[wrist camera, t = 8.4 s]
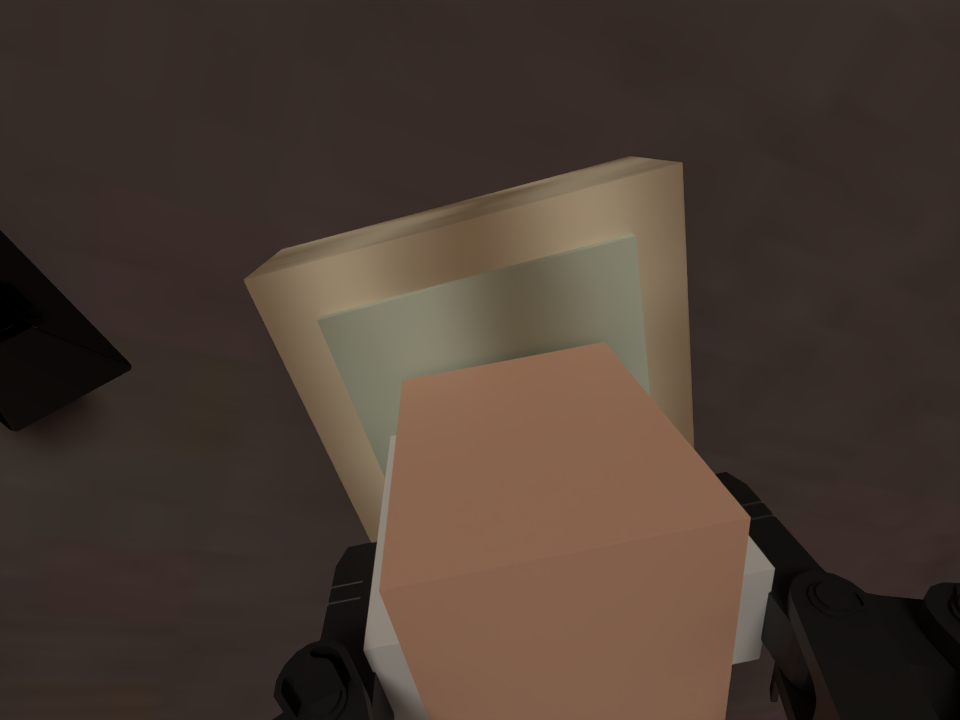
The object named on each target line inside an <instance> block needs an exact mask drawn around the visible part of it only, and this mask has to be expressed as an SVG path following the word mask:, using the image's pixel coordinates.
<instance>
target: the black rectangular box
mask: <svg viewBox="0 0 960 720" xmlns="http://www.w3.org/2000/svg"><path fill="white" fill-rule="evenodd" d="M129 370H131V364H130V363H129V362H128V361H127V360H126V359H125V358H124V357H123V356H122V355H121V354H120V353H119V352H118V351H117V350H116V349H115V348H114V347H113V346H112V344H111V343H110V342H109V341H108V340H107V339H106V338H105V337H104V336H103V335H102V334H101V333H100V332H99V331H98V330H97V329H96V328H95V327H94V326H93V325H92V324H91V323H90V322H89V321H88V320H87V319H86V318H85V317H84V316H83V315H82V314H81V313H80V312H79V311H78V310H77V309H76V307H75V306H74V305H73V304H72V303H71V302H70V301H69V300H68V299H67V298H66V297H65V296H64V295H63V294H62V293H61V292H60V291H59V290H58V289H57V288H56V287H55V286H54V285H53V284H52V283H51V282H50V281H49V280H48V279H47V278H46V277H45V276H44V275H43V274H42V273H41V272H40V271H39V269H38V268H37V267H36V266H35V265H34V264H33V263H32V262H31V261H30V260H29V259H28V258H27V257H26V256H25V255H24V254H23V253H22V252H21V251H20V250H19V249H18V248H17V247H16V246H15V245H14V244H13V243H12V242H11V241H10V240H9V239H8V238H7V237H6V236H5V235H4V234H3V233H2V231H1V230H0V422H2V423H3V424H4V425H5V426H6V427H7V428H9V429H10V430H12V431H19V430H21V429H23V428H24V427H26V426H28V425H30V424H32V423H34V422H36V421H37V420H39V419H41V418H43V417H45V416H47V415H48V414H50V413H52V412H54V411H56V410H58V409H59V408H61V407H63V406H65V405H67V404H69V403H70V402H72V401H74V400H76V399H78V398H80V397H81V396H83V395H85V394H87V393H89V392H91V391H93V390H94V389H96V388H98V387H100V386H102V385H104V384H105V383H107V382H109V381H111V380H113V379H115V378H116V377H118V376H120V375H122V374H124V373H126V372H127V371H129Z"/></svg>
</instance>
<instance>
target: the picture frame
mask: <svg viewBox="0 0 960 720" xmlns="http://www.w3.org/2000/svg"><path fill="white" fill-rule="evenodd" d="M244 282H245V284H246V286H247V288H248V290H249V292H250V295H251V297H252V299H253V301H254V303H255V305H256V307H257V309H258V311H259V313H260V315H261V317H262V319H263V321H264V323H265V325H266V327H267V329H268V331H269V334H270V336H271V338H272V340H273V342H274V344H275V346H276V348H277V350H278V352H279V354H280V356H281V358H282V360H283V362H284V364H285V366H286V368H287V370H288V372H289V375H290V377H291V379H292V381H293V383H294V385H295V387H296V389H297V391H298V393H299V395H300V397H301V399H302V401H303V403H304V405H305V407H306V409H307V411H308V414H309V416H310V418H311V420H312V422H313V424H314V426H315V428H316V430H317V432H318V434H319V436H320V438H321V440H322V442H323V444H324V446H325V448H326V450H327V453H328V455H329V457H330V459H331V461H332V463H333V465H334V467H335V469H336V471H337V473H338V475H339V477H340V479H341V481H342V483H343V485H344V487H345V489H346V491H347V494H348V496H349V498H350V500H351V502H352V504H353V506H354V508H355V510H356V512H357V514H358V516H359V518H360V520H361V522H362V524H363V526H364V528H365V530H366V533H367V535H368V537H369V539H370V541H371V543H372V542H377V539H378V531H379V523H380V515H381V508H382V500H383V492H384V484H385V476H386V468H387V461H388V453H389V445H390V437H391V436H395V435H396V433H397V424H398V415H399V406H400V397H401V388H402V380H408V379H413V378H418V377H423V376H428V375H434V374H439V373H444V372H449V371H455V370H460V369H465V368H470V367H476V366H481V365H486V364H491V363H496V362H502V361H507V360H512V359H517V358H523V357H528V356H533V355H538V354H544V353H549V352H554V351H559V350H564V349H570V348H575V347H580V346H585V345H591V344H596V343H601V342H605V343H606V344H607V346H608V347H609V348H610V349H611V350H612V352H613V353H614V354H615V355H616V356H617V358H618V359H619V360H620V361H621V362H622V364H623V365H624V366H625V367H626V368H627V370H628V371H629V372H630V373H631V374H632V376H633V377H634V378H635V379H636V380H637V382H638V383H639V384H640V385H641V386H642V388H643V389H644V390H645V391H646V392H647V394H648V395H649V396H650V397H651V398H652V400H653V401H654V402H655V403H656V404H657V406H658V407H659V408H660V409H661V410H662V412H663V413H664V414H665V415H666V416H667V418H668V419H669V420H670V421H671V422H672V424H673V425H674V426H675V427H676V428H677V430H678V431H679V432H680V433H681V434H682V436H683V437H684V438H685V439H686V440H687V442H688V443H689V444H690V445H691V446H692V448H693V449H694V434H693V410H692V385H691V361H690V337H689V312H688V288H687V263H686V239H685V215H684V190H683V166H682V163H681V162H673V161H665V160H657V159H648V158H640V157H632V156H629V157H626V158H622V159H618V160H614V161H611V162H607V163H603V164H600V165H596V166H592V167H588V168H585V169H581V170H577V171H573V172H570V173H566V174H562V175H558V176H555V177H551V178H547V179H544V180H540V181H536V182H532V183H529V184H525V185H521V186H517V187H514V188H510V189H506V190H502V191H499V192H495V193H491V194H488V195H484V196H480V197H476V198H473V199H469V200H465V201H461V202H458V203H454V204H450V205H446V206H443V207H439V208H435V209H432V210H428V211H424V212H420V213H417V214H413V215H409V216H405V217H402V218H398V219H394V220H390V221H387V222H383V223H379V224H376V225H372V226H368V227H364V228H361V229H357V230H353V231H349V232H346V233H342V234H338V235H334V236H331V237H327V238H323V239H320V240H316V241H312V242H308V243H305V244H301V245H297V246H293V247H290V248H286V249H282V250H280V251H279V252H278V253H277V254H275V255H274V256H273V257H272V258H270V259H269V260H268V261H267V262H265V263H264V264H263V265H262V266H260V267H259V268H258V269H257V270H255V271H254V272H253V273H251V274H250V275H249V276H248V277H246V278H245V279H244Z"/></svg>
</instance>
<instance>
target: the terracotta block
mask: <svg viewBox="0 0 960 720" xmlns="http://www.w3.org/2000/svg"><path fill="white" fill-rule="evenodd" d="M750 520H751V517H750V516H749V515H748V514H747V512H746V511H745V510H744V509H743V508H742V506H741V505H740V504H739V503H738V502H737V500H736V499H735V498H734V497H733V496H732V494H731V493H730V492H729V491H728V490H727V488H726V487H725V486H724V485H723V484H722V482H721V481H720V480H719V479H718V478H717V476H716V475H715V474H714V473H713V472H712V470H711V469H710V468H709V467H708V466H707V464H706V463H705V462H704V461H703V460H702V458H701V457H700V456H699V455H698V454H697V452H696V451H695V450H694V449H693V448H692V446H691V445H690V444H689V443H688V442H687V440H686V439H685V438H684V437H683V436H682V434H681V433H680V432H679V431H678V430H677V428H676V427H675V426H674V425H673V424H672V422H671V421H670V420H669V419H668V418H667V416H666V415H665V414H664V413H663V412H662V410H661V409H660V408H659V407H658V406H657V404H656V403H655V402H654V401H653V400H652V398H651V397H650V396H649V395H648V394H647V392H646V391H645V390H644V389H643V388H642V386H641V385H640V384H639V383H638V382H637V380H636V379H635V378H634V377H633V376H632V374H631V373H630V372H629V371H628V370H627V368H626V367H625V366H624V365H623V364H622V362H621V361H620V360H619V359H618V358H617V356H616V355H615V354H614V353H613V352H612V350H611V349H610V348H609V347H608V346H607V344H606V343H605V342H601V343H596V344H591V345H585V346H580V347H575V348H570V349H564V350H559V351H554V352H549V353H544V354H538V355H533V356H528V357H523V358H517V359H512V360H507V361H502V362H496V363H491V364H486V365H481V366H476V367H470V368H465V369H460V370H455V371H449V372H444V373H439V374H434V375H428V376H423V377H418V378H413V379H408V380H402V388H401V397H400V406H399V415H398V424H397V433H396V442H395V452H394V461H393V470H392V479H391V488H390V497H389V506H388V515H387V524H386V533H385V542H384V551H383V560H382V569H381V578H380V587H379V592H380V595H381V597H382V600H383V602H384V605H385V607H386V610H387V613H388V615H389V618H390V620H391V623H392V626H393V628H394V631H395V633H396V636H397V638H398V641H399V644H400V646H401V649H402V651H403V654H404V657H405V659H406V662H407V664H408V667H409V669H410V672H411V675H412V677H413V680H414V682H415V685H416V687H417V690H418V693H419V695H420V698H421V700H422V703H423V706H424V708H425V711H426V713H427V716H428V718H429V720H725V716H726V708H727V700H728V692H729V685H730V677H731V669H732V661H733V653H734V645H735V637H736V630H737V622H738V614H739V606H740V598H741V590H742V582H743V575H744V567H745V559H746V551H747V543H748V535H749V527H750Z"/></svg>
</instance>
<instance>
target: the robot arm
mask: <svg viewBox="0 0 960 720" xmlns="http://www.w3.org/2000/svg"><path fill="white" fill-rule="evenodd" d="M395 442H396V435H395V436H391V437H390V445H389V453H388V461H387V468H386V476H385V484H384V492H383V500H382V508H381V515H380V523H379V531H378V539H377V542H372V543H367V544H362V545H357V546H352V547H348V548H347V550H346V551H345V553H344V555H343V556H342V558H341V559H340V561H339V562H338V564H337V566H336V570H335V574H334V579H333V584H332V590H331V593H330V598H329V606H328V607H327V612H326V616H325V621H324V626H323V630H322V635H321V640H320V641H317V642H314V643H310V644H308V645H307V646H305V647H304V648H302V649H301V650H299V651H298V652H296V653H295V654H294V655H293V657H292V658H291V659H290V660H289V661H288V662H287V663H286V664H285V665H284V667H283V669H282V671H281V673H280V675H279V677H278V679H277V680H276V685H275V691H274V698H275V699H276V701H277V702H278V704H279V706H280V707H281V709H282V710H283V713H282V714H280V715H279V716H277V717H276V718H274V719H273V720H429V718H428V716H427V713H426V711H425V708H424V706H423V703H422V700H421V698H420V695H419V693H418V690H417V687H416V685H415V682H414V680H413V677H412V675H411V672H410V669H409V667H408V664H407V662H406V659H405V657H404V654H403V651H402V649H401V646H400V644H399V641H398V638H397V636H396V633H395V631H394V628H393V626H392V623H391V620H390V618H389V615H388V613H387V610H386V607H385V605H384V602H383V600H382V597H381V595H380V592H379V587H380V578H381V569H382V560H383V551H384V542H385V533H386V524H387V515H388V506H389V497H390V488H391V479H392V470H393V461H394V452H395ZM715 475H716V476H717V478H718V479H719V480H720V481H721V482H722V484H723V485H724V486H725V487H726V488H727V490H728V491H729V492H730V493H731V494H732V496H733V497H734V498H735V499H736V500H737V502H738V503H739V504H740V505H741V506H742V508H743V509H744V510H745V511H746V512H747V514H748V515H749V516H750V517H751V520H750V527H749V535H748V543H747V551H746V559H745V567H744V575H743V582H742V590H741V598H740V606H739V614H738V622H737V630H736V637H735V645H734V653H733V661H732V664H736V663H741V662H746V661H751V660H756V659H759V658H760V652H761V647H762V642H763V643H764V645H765V646H766V648H767V649H768V651H769V652H770V654H771V656H772V657H773V659H774V660H775V665H774V670H773V675H772V680H771V685H770V699H771V702H777V700H778V695H779V694H780V697H781V700H782V703H783V706H784V709H785V713H786V716H787V719H788V720H960V583H943V582H942V583H939V584H937V585H934V586H931V587H930V588H929V590H928V592H927V593H926V595H925V597H924V600H921V599H911V598H901V597H891V596H880V595H875V594H869V593H865V592H864V591H863V590H861V589H860V588H859V587H857V586H856V585H855V584H853V583H852V582H850V581H848V580H846V579H844V578H842V577H839V576H837V575H835V574H831V573H827V572H826V571H824V570H823V569H822V568H821V567H820V566H819V565H818V564H817V563H816V561H815V560H814V559H813V558H812V557H811V556H810V555H809V554H808V552H807V551H806V550H805V549H804V548H803V547H802V546H801V545H800V544H799V542H798V541H797V540H796V539H795V538H794V537H793V536H792V535H791V534H790V532H789V531H788V530H787V529H786V528H785V527H784V526H783V525H782V523H781V522H780V521H779V520H778V519H777V518H776V517H774V516H773V514H772V512H771V511H770V510H769V509H768V508H767V507H766V506H765V504H764V503H761V500H760V499H759V498H758V497H757V496H756V494H755V493H754V492H753V491H752V490H751V489H750V488H749V487H748V486H747V484H745V483H743V482H742V481H740V480H738V479H737V478H735V477H733V476H732V475H730V474H728V473H727V472H724V473H719V474H715Z"/></svg>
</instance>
